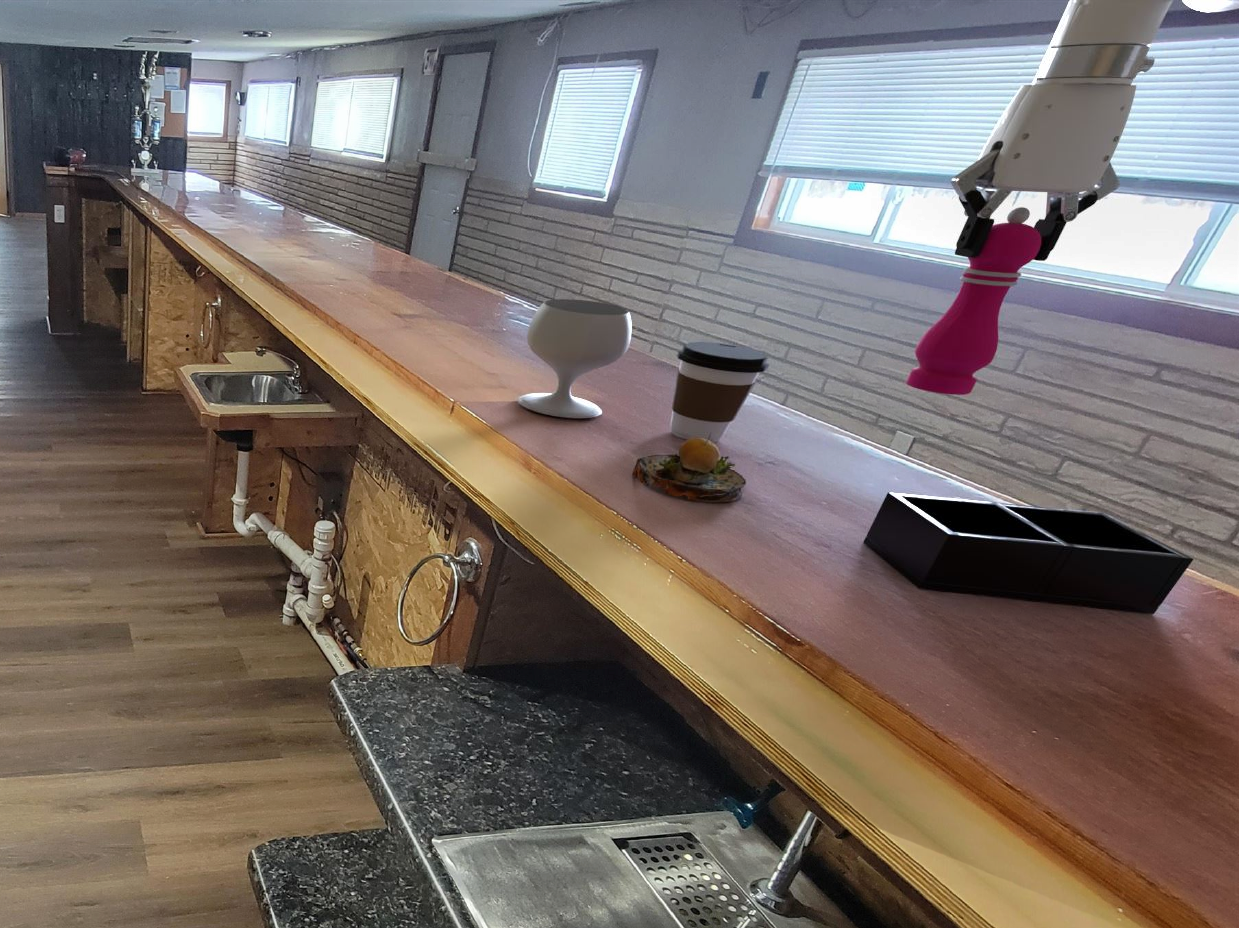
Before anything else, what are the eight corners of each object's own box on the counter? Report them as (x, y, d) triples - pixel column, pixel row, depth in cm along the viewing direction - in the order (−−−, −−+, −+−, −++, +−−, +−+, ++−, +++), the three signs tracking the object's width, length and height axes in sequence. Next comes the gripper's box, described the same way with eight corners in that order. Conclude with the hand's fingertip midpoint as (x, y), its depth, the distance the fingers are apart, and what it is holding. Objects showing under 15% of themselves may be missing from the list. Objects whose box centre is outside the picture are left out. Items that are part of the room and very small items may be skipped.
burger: (749, 484, 102) (773, 425, 98) (731, 513, 94) (756, 450, 90) (645, 459, 108) (664, 403, 105) (620, 484, 100) (639, 424, 96)
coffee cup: (658, 418, 125) (685, 337, 119) (741, 434, 119) (774, 350, 113) (646, 436, 117) (675, 350, 111) (735, 454, 111) (769, 365, 105)
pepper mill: (948, 381, 104) (1031, 205, 94) (991, 397, 97) (1085, 211, 88) (887, 378, 104) (963, 203, 94) (925, 394, 98) (1012, 208, 88)
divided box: (1071, 564, 86) (1104, 512, 83) (1154, 614, 77) (1194, 558, 74) (862, 542, 88) (887, 492, 85) (919, 588, 79) (949, 534, 76)
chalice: (613, 428, 120) (645, 321, 112) (511, 415, 123) (536, 310, 116) (602, 401, 131) (631, 303, 124) (510, 390, 135) (532, 294, 127)
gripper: (1153, 73, 87) (1060, 257, 95) (969, 70, 89) (895, 250, 98) (1218, 68, 80) (1112, 266, 89) (1017, 65, 83) (933, 258, 91)
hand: (999, 256), depth 93 cm, fingers closed on pepper mill, 6 cm apart
